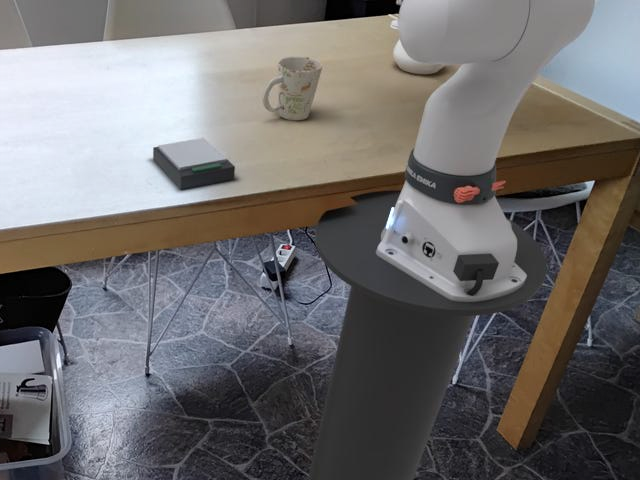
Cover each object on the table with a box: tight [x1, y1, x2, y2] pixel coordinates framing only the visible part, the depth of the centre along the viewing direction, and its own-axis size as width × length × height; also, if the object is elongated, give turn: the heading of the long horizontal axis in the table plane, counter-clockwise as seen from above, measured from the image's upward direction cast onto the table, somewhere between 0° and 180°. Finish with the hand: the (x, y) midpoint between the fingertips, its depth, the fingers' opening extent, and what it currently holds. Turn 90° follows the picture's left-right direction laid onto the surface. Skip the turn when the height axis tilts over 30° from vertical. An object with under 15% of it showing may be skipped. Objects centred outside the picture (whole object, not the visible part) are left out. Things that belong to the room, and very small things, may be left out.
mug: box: [262, 56, 323, 121], centre depth 141 cm, size 8×13×10 cm, turn 125°
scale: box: [152, 137, 236, 191], centre depth 126 cm, size 12×10×3 cm
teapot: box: [392, 38, 446, 75], centre depth 163 cm, size 20×12×10 cm, turn 10°
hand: (407, 7), depth 138 cm, fingers closed
